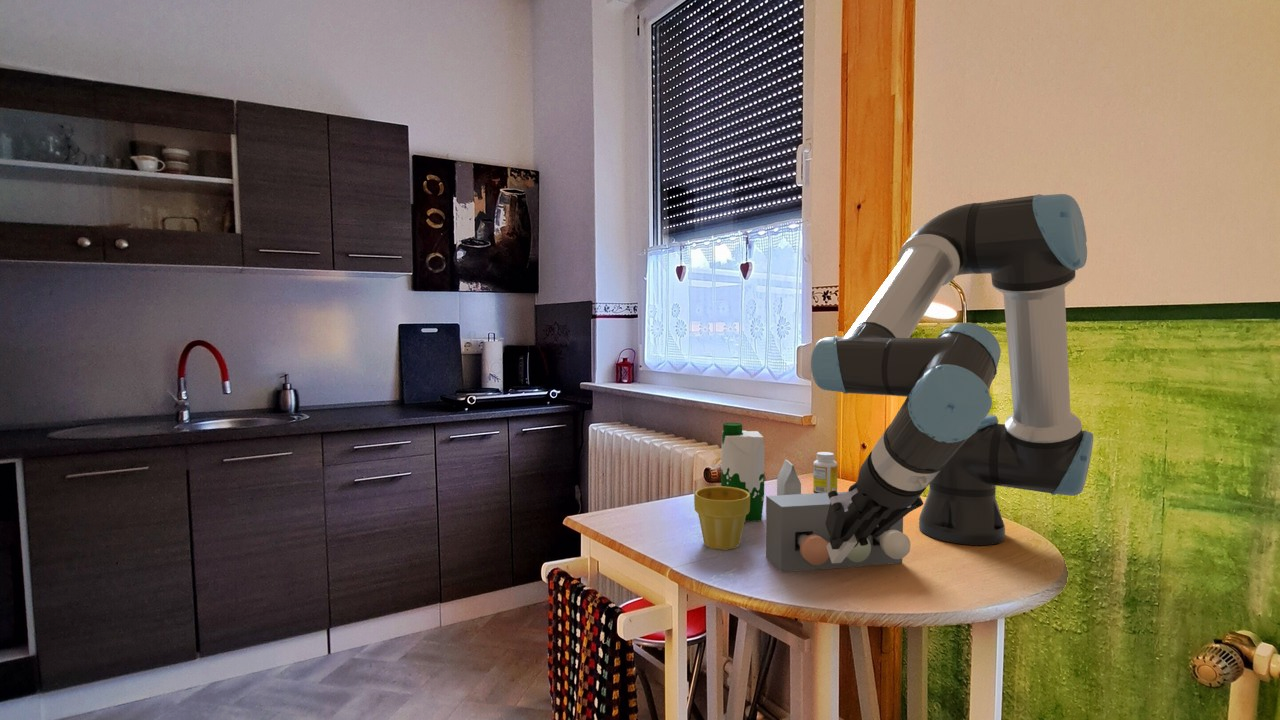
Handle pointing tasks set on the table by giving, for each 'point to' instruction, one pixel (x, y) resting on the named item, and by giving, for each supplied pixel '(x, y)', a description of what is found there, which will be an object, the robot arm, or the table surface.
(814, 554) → the terracotta button
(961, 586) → the table surface
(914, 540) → the table surface
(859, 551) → the sage button
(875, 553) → the control box
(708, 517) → the plant pot
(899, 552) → the ivory button
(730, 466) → the milk carton
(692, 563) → the table surface
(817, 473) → the supplement bottle
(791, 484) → the white gabled block
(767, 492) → the table surface
